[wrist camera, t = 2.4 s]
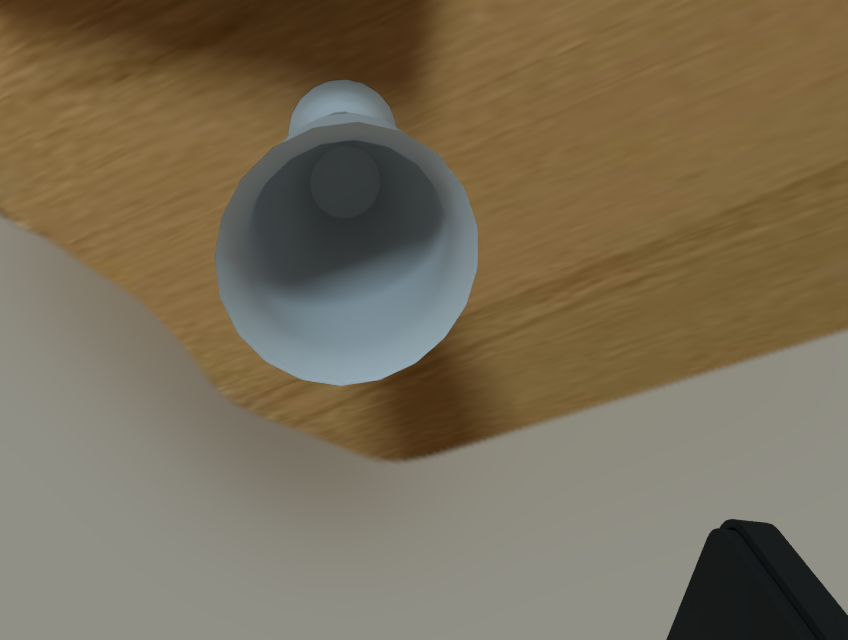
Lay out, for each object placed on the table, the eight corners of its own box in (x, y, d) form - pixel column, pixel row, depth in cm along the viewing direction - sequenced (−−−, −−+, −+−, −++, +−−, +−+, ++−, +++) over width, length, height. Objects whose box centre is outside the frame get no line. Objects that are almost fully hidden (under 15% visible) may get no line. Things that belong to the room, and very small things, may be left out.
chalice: (300, 29, 35) (269, 76, 19) (440, 89, 37) (523, 181, 20) (248, 181, 38) (179, 341, 21) (381, 231, 39) (414, 415, 23)
